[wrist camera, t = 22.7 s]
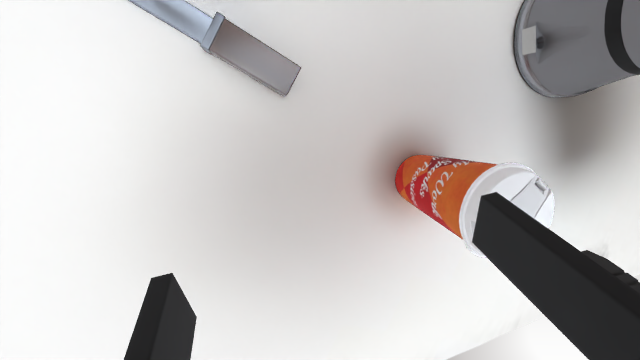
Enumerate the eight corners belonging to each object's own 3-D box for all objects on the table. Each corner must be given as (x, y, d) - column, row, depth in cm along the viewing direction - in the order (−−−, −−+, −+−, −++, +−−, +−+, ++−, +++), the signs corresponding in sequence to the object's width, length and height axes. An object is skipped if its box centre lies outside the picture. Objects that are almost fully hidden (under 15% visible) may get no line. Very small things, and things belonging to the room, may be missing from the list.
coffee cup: (414, 132, 36) (520, 143, 22) (457, 170, 39) (577, 203, 24) (372, 186, 36) (450, 233, 22) (417, 221, 39) (513, 283, 25)
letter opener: (66, -78, 25) (50, -96, 23) (299, 69, 32) (302, 66, 30) (50, -41, 25) (32, -55, 23) (284, 97, 32) (286, 96, 30)
